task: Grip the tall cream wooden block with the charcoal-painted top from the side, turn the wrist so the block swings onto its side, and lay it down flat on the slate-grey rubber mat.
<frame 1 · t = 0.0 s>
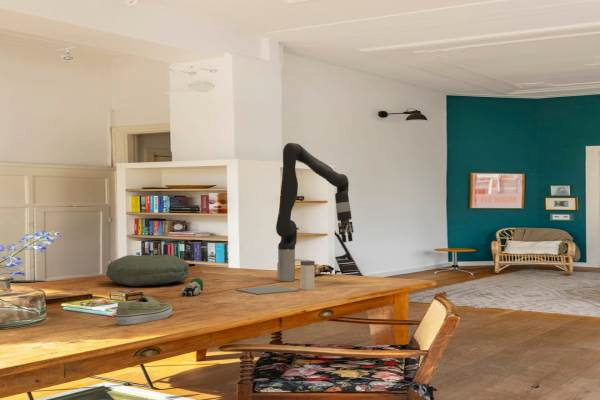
hand: (347, 241, 387), 22 cm above the table, tool pointing down, fingers open, 8 cm apart
slate mat: (267, 290, 360), on the table
pillow: (149, 284, 388), on the table
figurine: (317, 276, 430), on the table
cream block: (307, 289, 366), on the table
toy: (193, 295, 345), on the table
boat shoe: (146, 320, 275), on the table
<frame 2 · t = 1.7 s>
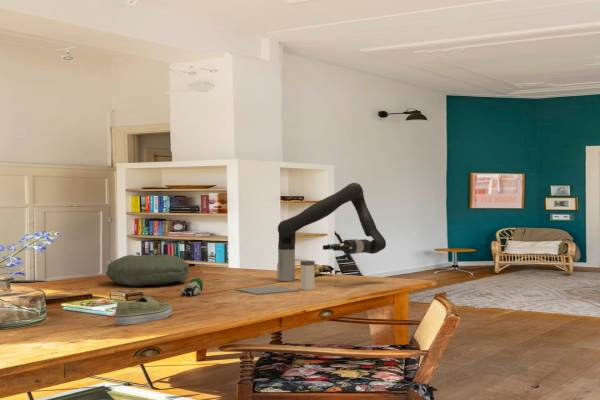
hand: (328, 248, 374), 20 cm above the table, tool horizontal, fingers open, 8 cm apart
nothing on the table moved.
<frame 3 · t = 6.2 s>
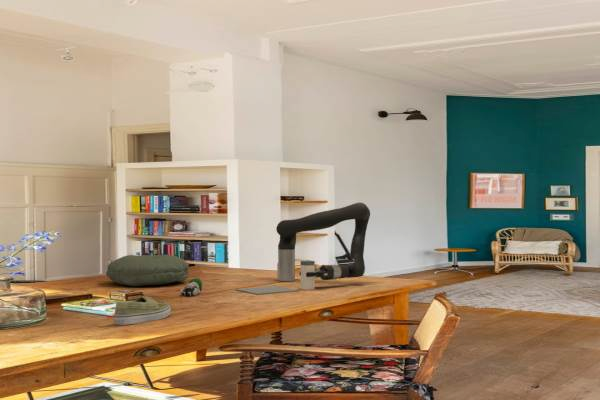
hand: (303, 274, 365), 8 cm above the table, tool horizontal, fingers closed on cream block, 5 cm apart
cream block: (307, 289, 366), on the table, touching gripper
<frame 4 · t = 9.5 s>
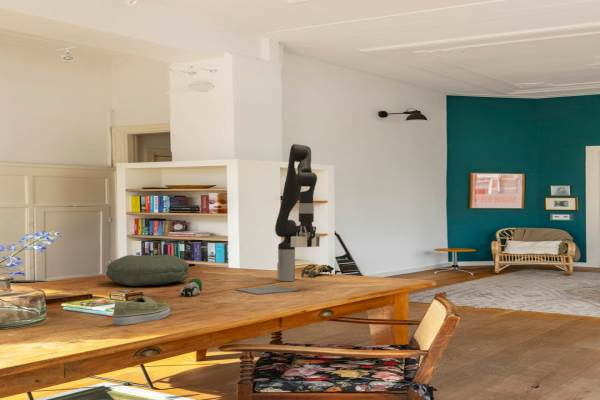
hand: (306, 246, 366), 21 cm above the table, tool pointing down, fingers closed on cream block, 5 cm apart
cream block: (293, 241, 361), point 24 cm above the table, tilted 90°, touching gripper
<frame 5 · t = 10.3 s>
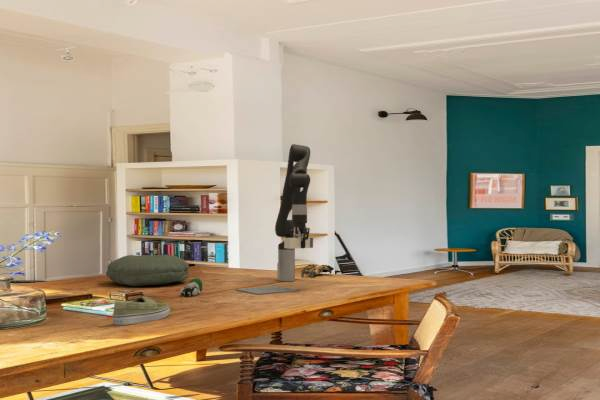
hand: (299, 247, 365), 21 cm above the table, tool pointing down, fingers closed on cream block, 5 cm apart
cream block: (287, 243, 360), point 23 cm above the table, tilted 90°, touching gripper
when the fingers open (2 cm above the table, at t = 15.0 s): cream block drops 1 cm, resting on slate mat.
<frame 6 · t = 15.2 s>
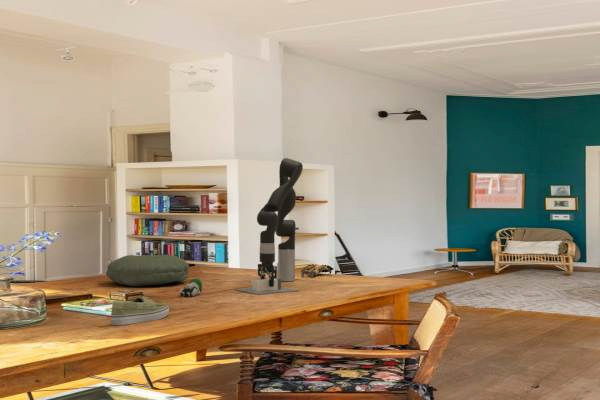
hand: (267, 286, 360), 2 cm above the table, tool pointing down, fingers open, 7 cm apart
cream block: (254, 285, 355), point 3 cm above the table, tilted 90°, touching slate mat
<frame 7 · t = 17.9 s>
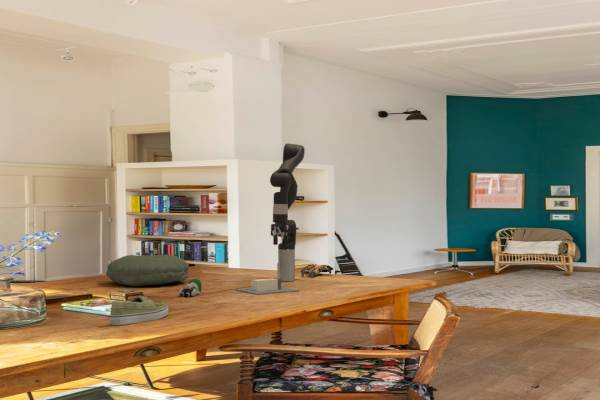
hand: (279, 245, 367), 22 cm above the table, tool pointing down, fingers open, 8 cm apart
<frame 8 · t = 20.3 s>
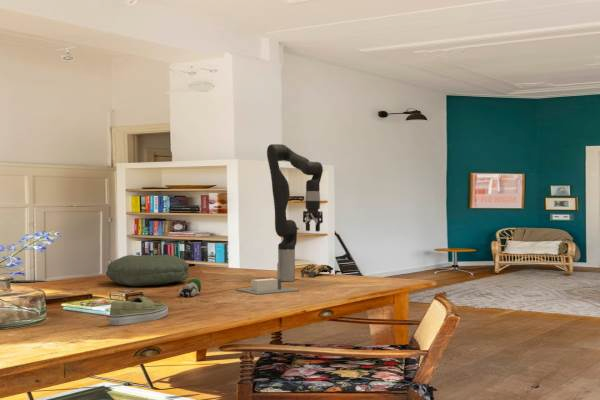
hand: (312, 231, 383), 28 cm above the table, tool pointing down, fingers open, 8 cm apart
at the end: cream block tilted 90°; cream block inside the target area (8.5 cm from its centre), point 3.0 cm above the table; the gripper is holding nothing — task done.
